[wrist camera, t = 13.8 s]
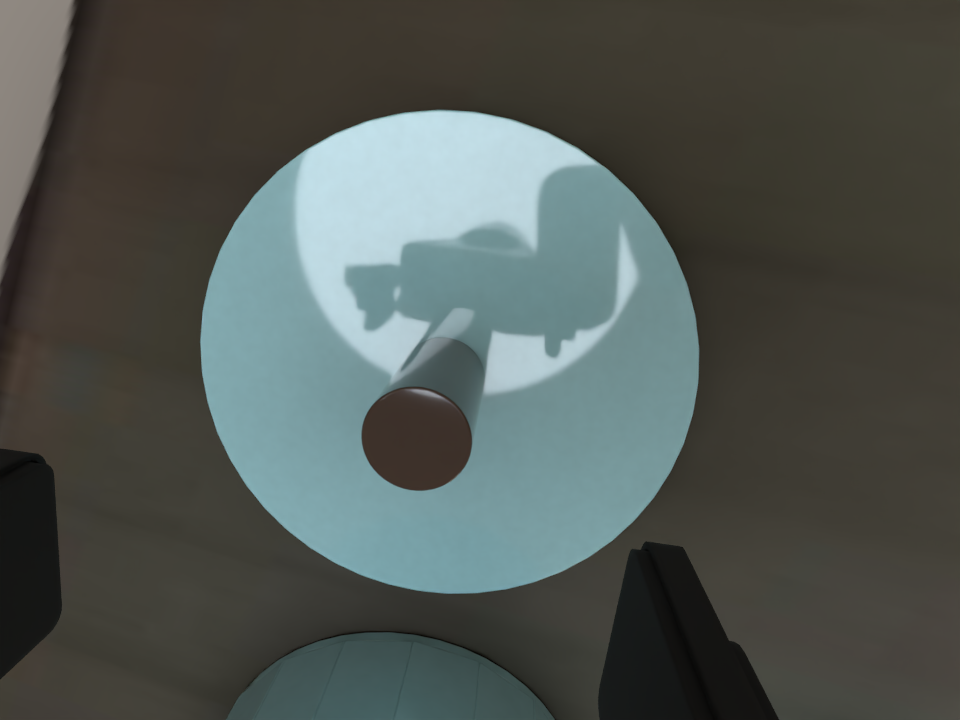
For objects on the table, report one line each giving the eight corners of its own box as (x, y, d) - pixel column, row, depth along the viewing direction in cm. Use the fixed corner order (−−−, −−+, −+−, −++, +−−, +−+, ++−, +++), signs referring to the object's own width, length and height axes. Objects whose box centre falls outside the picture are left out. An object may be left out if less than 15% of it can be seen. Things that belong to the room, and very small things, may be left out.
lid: (743, 151, 19) (855, 127, 13) (637, 607, 23) (680, 759, 17) (219, 81, 20) (72, 26, 13) (212, 541, 24) (99, 665, 18)
